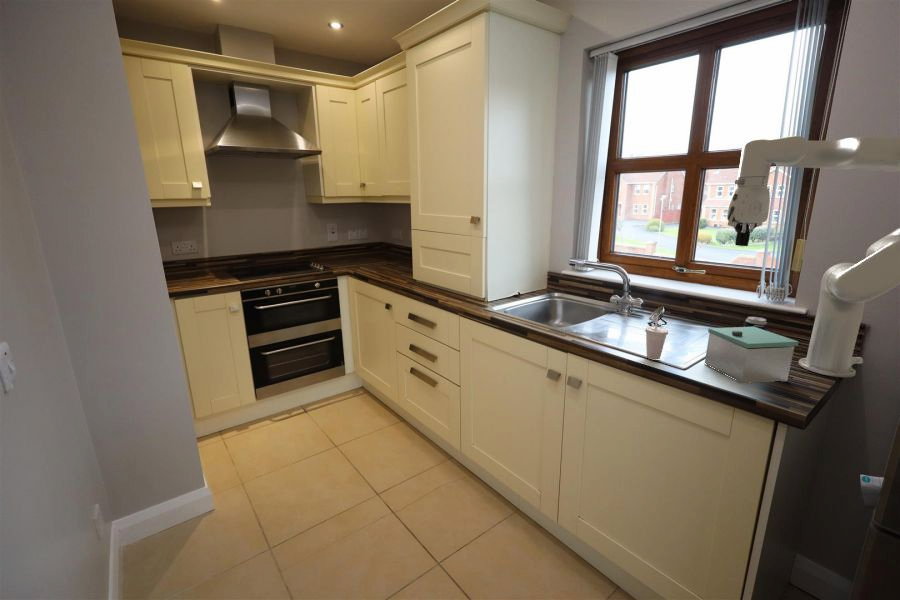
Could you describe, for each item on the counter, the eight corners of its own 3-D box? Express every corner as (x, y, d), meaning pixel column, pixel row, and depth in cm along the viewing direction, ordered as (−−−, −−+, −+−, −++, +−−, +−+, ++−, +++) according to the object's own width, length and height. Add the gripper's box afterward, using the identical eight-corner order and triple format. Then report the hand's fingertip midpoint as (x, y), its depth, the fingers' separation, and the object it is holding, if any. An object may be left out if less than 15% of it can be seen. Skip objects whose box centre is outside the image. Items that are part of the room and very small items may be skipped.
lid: (753, 330, 125) (754, 323, 125) (797, 345, 111) (799, 338, 111) (708, 332, 124) (709, 325, 123) (747, 348, 110) (749, 340, 109)
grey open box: (745, 361, 128) (751, 331, 125) (787, 381, 114) (794, 347, 112) (704, 363, 126) (709, 332, 124) (741, 383, 113) (747, 349, 110)
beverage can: (737, 353, 134) (744, 318, 132) (741, 349, 138) (748, 315, 135) (759, 358, 130) (766, 322, 128) (762, 354, 134) (769, 318, 132)
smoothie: (657, 354, 133) (663, 313, 130) (668, 362, 127) (674, 318, 124) (638, 354, 133) (643, 313, 130) (648, 362, 127) (653, 319, 124)
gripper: (739, 183, 118) (728, 247, 122) (785, 183, 120) (773, 246, 124) (719, 184, 125) (710, 244, 130) (763, 184, 127) (753, 244, 132)
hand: (741, 245), depth 127 cm, fingers closed
